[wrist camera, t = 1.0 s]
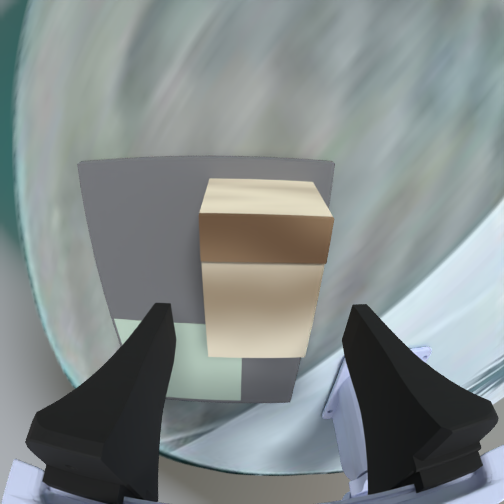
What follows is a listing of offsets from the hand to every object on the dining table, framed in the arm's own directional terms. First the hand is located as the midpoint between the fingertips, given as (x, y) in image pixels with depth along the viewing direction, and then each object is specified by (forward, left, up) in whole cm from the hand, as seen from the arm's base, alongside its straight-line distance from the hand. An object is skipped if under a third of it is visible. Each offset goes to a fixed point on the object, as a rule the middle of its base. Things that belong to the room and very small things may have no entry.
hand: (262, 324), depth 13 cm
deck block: (0, 0, -6) cm, 6 cm away
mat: (-5, +3, -6) cm, 8 cm away
